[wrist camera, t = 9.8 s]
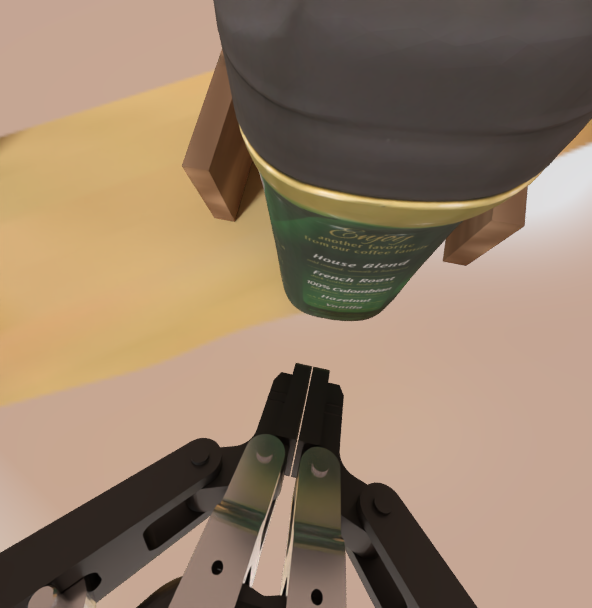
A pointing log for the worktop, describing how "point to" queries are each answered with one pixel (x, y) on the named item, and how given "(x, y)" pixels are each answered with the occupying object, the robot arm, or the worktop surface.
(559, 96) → the coffee jar
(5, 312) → the worktop surface
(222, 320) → the worktop surface
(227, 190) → the bracket
